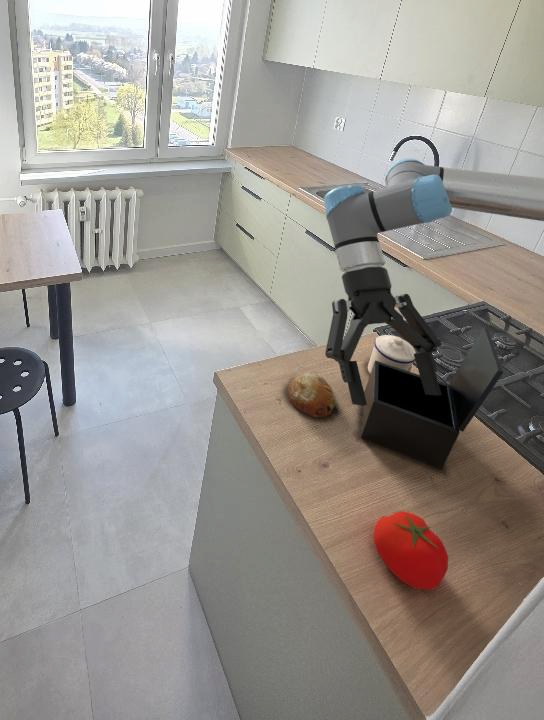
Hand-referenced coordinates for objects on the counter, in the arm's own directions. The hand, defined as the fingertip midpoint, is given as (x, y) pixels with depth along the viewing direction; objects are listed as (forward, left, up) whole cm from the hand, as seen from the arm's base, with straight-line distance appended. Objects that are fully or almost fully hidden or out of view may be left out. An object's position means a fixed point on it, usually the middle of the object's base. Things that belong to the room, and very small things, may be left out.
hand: (397, 399), depth 67 cm
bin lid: (-14, -18, -5) cm, 24 cm away
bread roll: (+11, -17, -25) cm, 32 cm away
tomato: (-7, +9, -25) cm, 27 cm away
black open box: (-7, -18, -24) cm, 31 cm away
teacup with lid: (-4, -36, -25) cm, 44 cm away
